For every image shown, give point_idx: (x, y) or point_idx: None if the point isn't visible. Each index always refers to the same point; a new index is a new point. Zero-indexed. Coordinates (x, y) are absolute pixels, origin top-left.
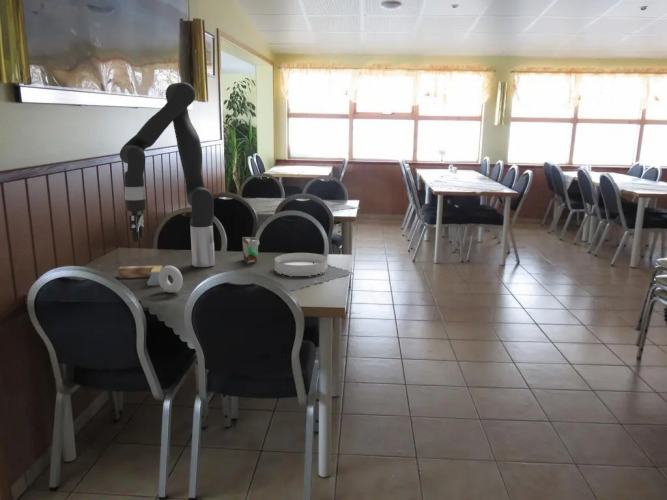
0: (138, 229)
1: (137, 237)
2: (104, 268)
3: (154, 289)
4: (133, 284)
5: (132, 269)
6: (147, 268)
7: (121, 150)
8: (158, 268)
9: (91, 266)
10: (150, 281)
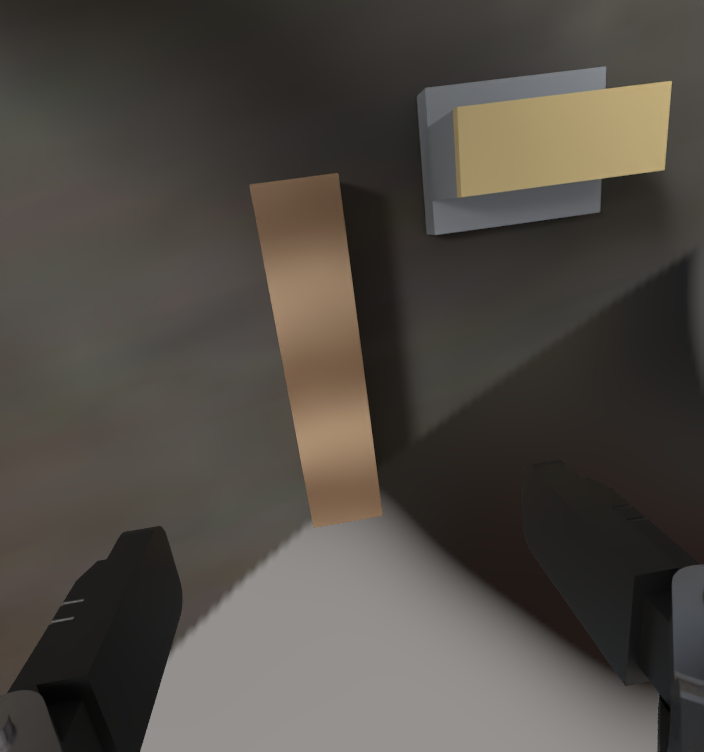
0: (688, 617)
1: (595, 506)
2: None
3: (687, 126)
4: (537, 327)
5: (368, 416)
6: (353, 298)
7: None
8: (571, 118)
9: None
10: (596, 188)
